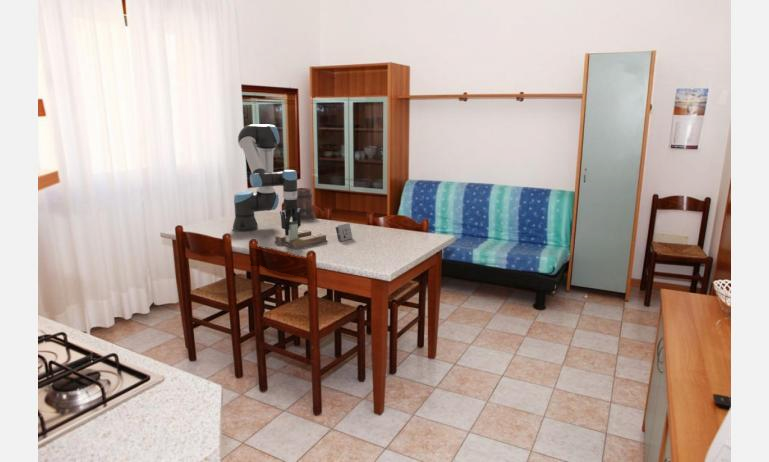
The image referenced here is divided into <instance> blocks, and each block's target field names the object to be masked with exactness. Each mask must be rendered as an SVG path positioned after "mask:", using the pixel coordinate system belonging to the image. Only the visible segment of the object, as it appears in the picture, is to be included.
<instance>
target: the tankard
mask: <svg viewBox="0 0 769 462" xmlns="http://www.w3.org/2000/svg"><path fill="white" fill-rule="evenodd" d="M296 199H297V200H298V205H297V207H298V208H299V209H302V211H301V220H313V219H315V218H316V215H315V213H314V207H313V194H312V190H311V188H308V187H297V198H296ZM296 213H297V211H296ZM291 218H292V216H291Z"/></svg>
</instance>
